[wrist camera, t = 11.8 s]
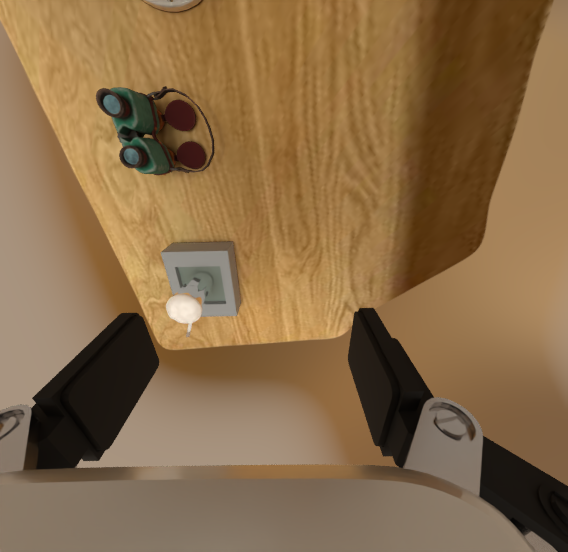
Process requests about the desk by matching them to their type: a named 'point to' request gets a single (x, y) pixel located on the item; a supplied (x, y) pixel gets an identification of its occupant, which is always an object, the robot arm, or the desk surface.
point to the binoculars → (151, 130)
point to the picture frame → (213, 261)
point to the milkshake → (190, 299)
